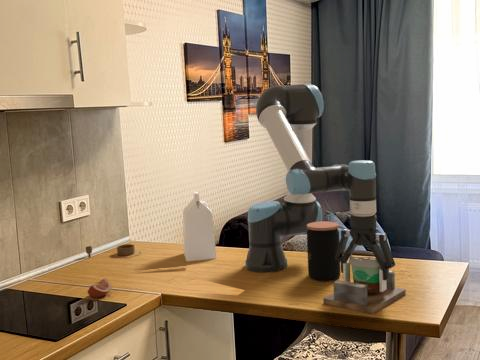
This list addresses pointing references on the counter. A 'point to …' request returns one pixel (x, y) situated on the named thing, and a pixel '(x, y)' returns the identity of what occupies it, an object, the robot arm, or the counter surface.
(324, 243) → the coffee jar
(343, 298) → the holder
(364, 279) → the food container
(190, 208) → the milk
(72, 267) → the counter surface
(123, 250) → the place setting
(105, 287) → the fruit slice
